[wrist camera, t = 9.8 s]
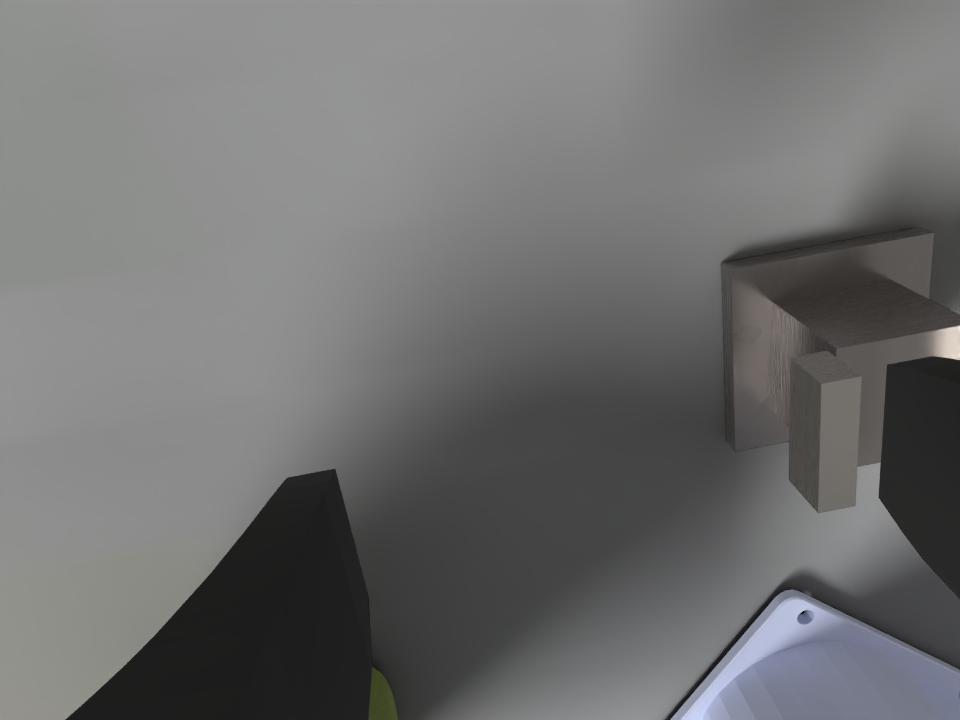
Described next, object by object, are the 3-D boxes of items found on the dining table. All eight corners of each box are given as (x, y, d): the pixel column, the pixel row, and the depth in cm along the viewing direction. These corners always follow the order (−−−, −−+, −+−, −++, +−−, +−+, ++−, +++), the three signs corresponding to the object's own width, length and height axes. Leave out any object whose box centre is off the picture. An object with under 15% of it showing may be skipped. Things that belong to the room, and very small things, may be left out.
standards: (905, 406, 22) (1041, 507, 17) (726, 440, 21) (817, 552, 17) (965, -404, 15) (1218, -586, 10) (703, -365, 15) (844, -534, 10)
